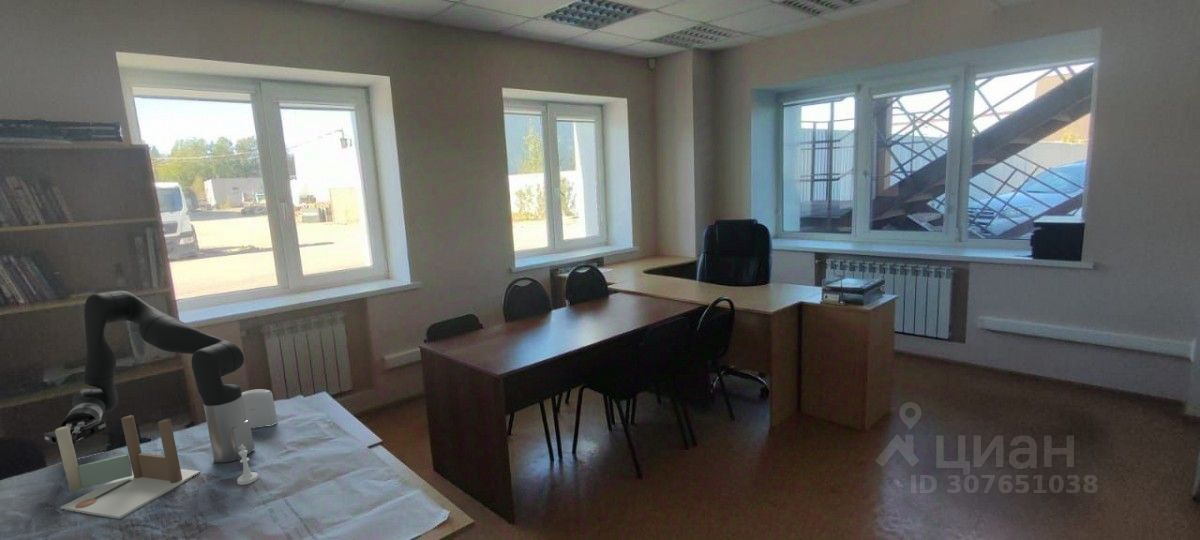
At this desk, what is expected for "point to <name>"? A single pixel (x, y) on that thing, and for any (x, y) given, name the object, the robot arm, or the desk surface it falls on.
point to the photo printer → (259, 407)
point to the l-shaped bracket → (89, 465)
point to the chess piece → (246, 469)
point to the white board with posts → (136, 477)
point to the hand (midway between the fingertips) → (67, 443)
